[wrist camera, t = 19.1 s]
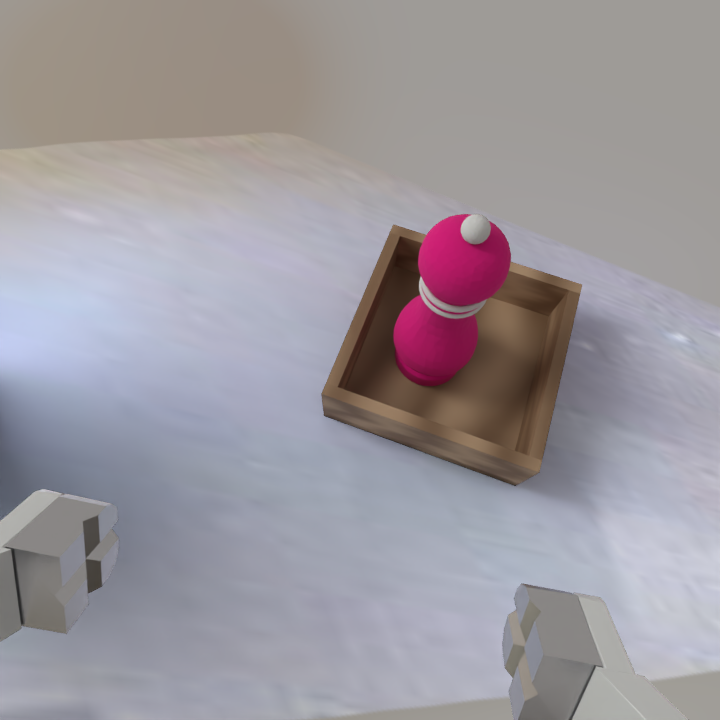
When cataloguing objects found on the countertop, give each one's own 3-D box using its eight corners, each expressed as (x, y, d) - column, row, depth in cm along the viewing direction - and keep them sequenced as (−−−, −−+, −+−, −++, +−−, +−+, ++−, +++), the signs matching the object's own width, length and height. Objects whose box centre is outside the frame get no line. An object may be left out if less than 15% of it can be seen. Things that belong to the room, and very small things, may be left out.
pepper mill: (453, 402, 47) (525, 288, 29) (378, 376, 48) (401, 248, 29) (474, 336, 50) (551, 192, 31) (403, 312, 51) (438, 158, 32)
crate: (323, 415, 47) (321, 393, 42) (388, 260, 54) (393, 224, 49) (515, 485, 45) (539, 472, 40) (556, 316, 52) (582, 284, 47)
